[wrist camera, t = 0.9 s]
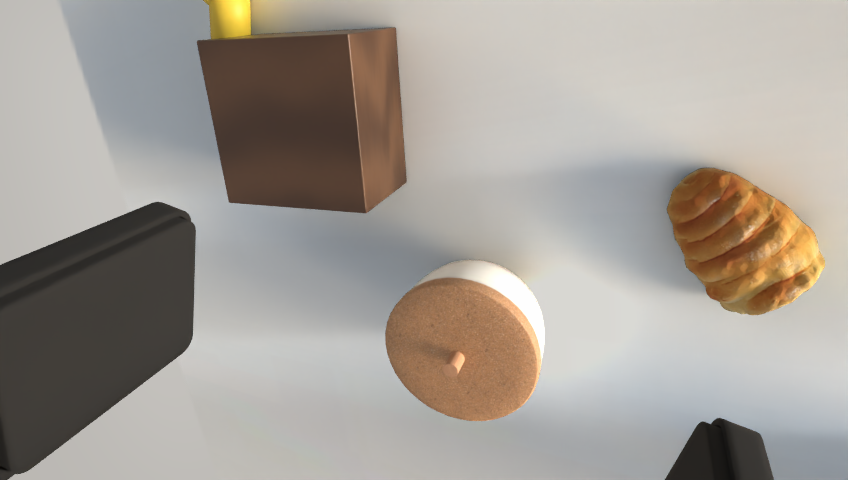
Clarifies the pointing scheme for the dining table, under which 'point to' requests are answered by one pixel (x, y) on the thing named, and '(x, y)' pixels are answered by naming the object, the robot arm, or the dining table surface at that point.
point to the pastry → (742, 242)
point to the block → (307, 117)
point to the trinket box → (468, 340)
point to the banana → (229, 18)
